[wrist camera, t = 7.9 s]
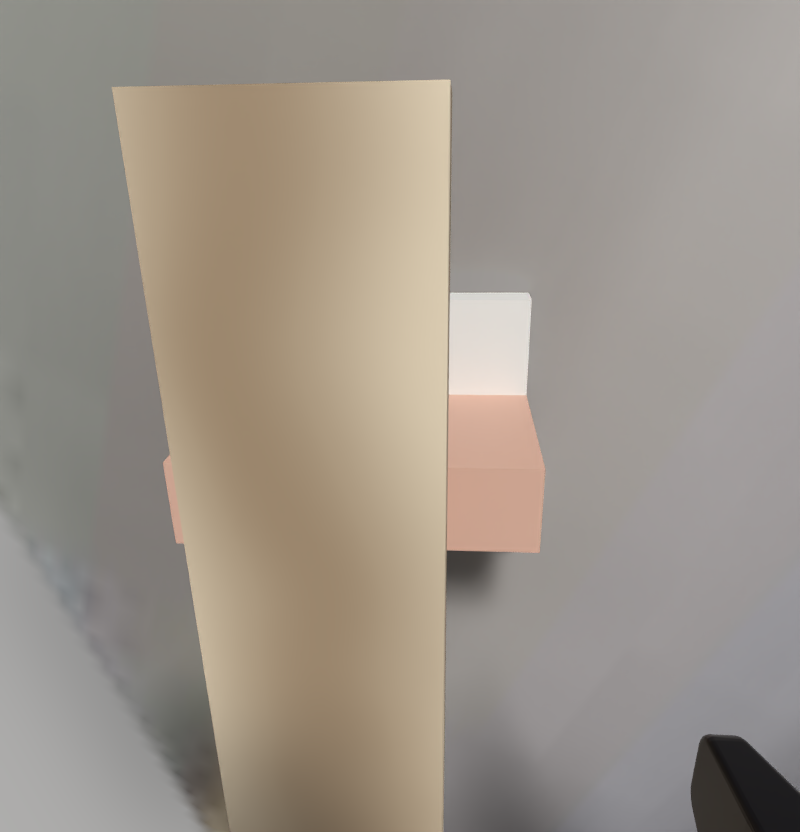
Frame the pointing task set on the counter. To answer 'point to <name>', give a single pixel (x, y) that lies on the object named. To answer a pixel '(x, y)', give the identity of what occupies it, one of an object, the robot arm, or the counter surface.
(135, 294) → the counter surface
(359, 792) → the beam
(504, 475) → the fulcrum
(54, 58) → the counter surface
